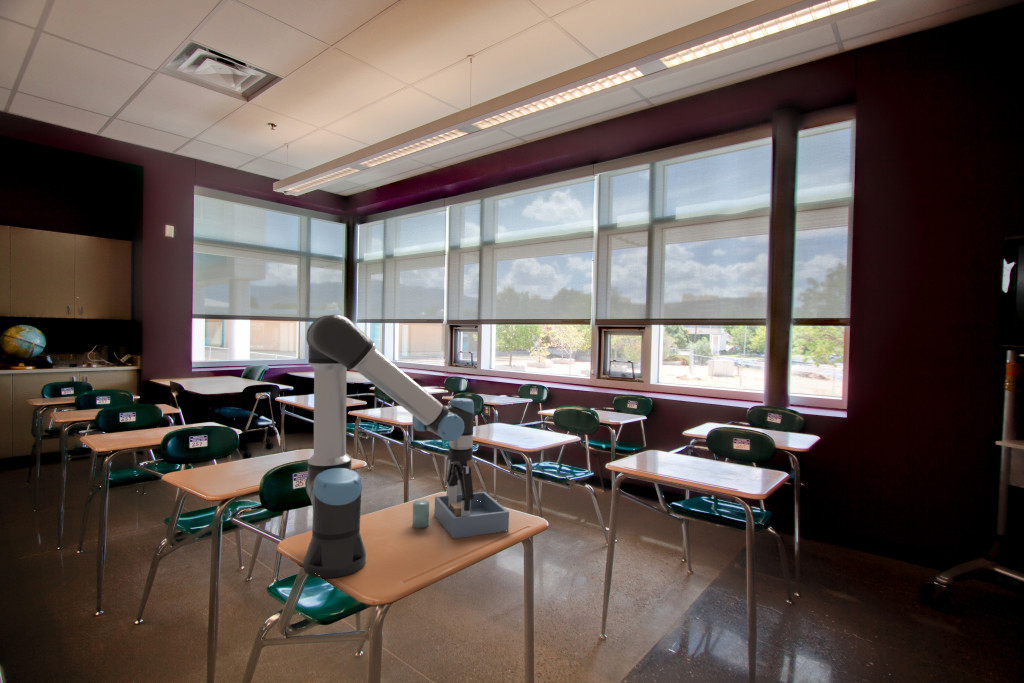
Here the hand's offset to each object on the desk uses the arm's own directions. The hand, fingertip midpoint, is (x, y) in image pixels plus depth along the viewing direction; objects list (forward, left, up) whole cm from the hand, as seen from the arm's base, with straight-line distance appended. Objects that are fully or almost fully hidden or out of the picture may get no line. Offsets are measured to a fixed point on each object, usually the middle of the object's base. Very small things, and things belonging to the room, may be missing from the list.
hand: (458, 513), depth 157 cm
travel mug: (+4, +17, -4) cm, 18 cm away
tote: (+4, 0, -3) cm, 5 cm away
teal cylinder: (-12, +3, -3) cm, 12 cm away
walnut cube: (0, 0, -2) cm, 3 cm away
